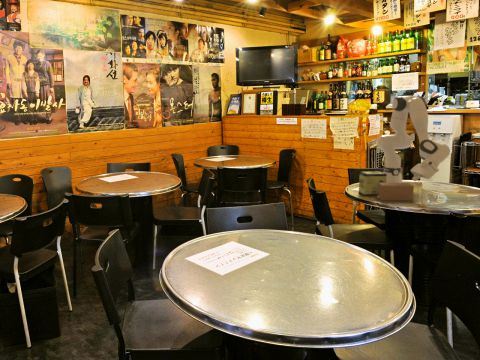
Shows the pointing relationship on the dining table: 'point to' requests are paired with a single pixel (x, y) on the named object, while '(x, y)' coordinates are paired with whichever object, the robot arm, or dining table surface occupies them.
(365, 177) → the protein box
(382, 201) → the mat
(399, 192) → the wooden block
